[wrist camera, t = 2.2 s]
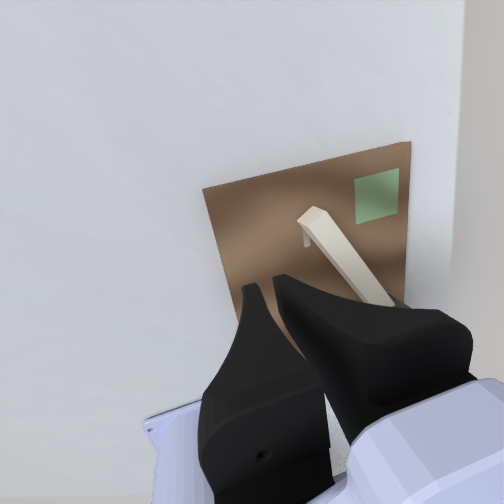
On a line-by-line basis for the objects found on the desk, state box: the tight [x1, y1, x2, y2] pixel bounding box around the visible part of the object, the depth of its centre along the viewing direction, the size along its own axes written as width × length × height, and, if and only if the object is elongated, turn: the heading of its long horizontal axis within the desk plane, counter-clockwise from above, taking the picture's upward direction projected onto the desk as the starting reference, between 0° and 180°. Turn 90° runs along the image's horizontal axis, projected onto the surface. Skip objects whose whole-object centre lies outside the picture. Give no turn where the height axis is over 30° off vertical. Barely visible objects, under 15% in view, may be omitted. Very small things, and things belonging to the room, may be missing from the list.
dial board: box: [202, 142, 411, 358], centre depth 22 cm, size 18×16×1 cm
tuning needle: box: [297, 206, 411, 309], centre depth 20 cm, size 14×3×3 cm, turn 42°
